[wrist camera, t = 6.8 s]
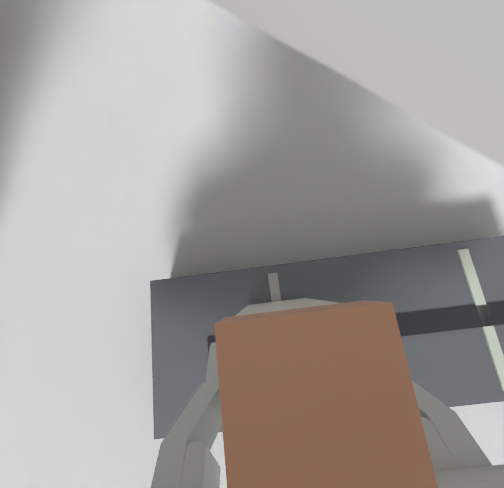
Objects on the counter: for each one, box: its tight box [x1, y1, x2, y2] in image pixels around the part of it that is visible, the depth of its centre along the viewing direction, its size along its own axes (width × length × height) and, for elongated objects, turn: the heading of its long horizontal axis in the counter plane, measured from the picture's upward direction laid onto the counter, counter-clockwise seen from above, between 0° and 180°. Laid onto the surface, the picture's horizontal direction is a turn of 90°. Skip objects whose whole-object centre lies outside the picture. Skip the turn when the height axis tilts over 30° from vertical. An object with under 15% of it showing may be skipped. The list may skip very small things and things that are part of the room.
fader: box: [214, 298, 438, 488], centre depth 9 cm, size 4×5×10 cm
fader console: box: [150, 236, 504, 439], centre depth 15 cm, size 25×9×3 cm, turn 97°
